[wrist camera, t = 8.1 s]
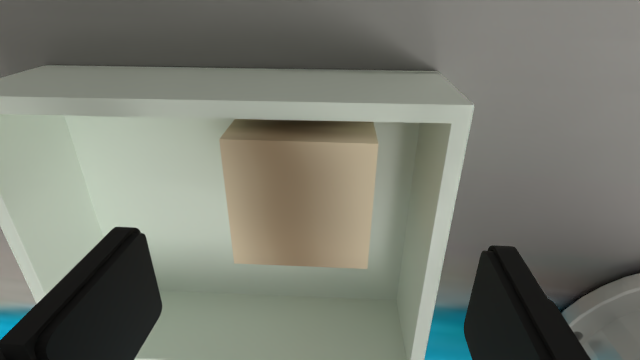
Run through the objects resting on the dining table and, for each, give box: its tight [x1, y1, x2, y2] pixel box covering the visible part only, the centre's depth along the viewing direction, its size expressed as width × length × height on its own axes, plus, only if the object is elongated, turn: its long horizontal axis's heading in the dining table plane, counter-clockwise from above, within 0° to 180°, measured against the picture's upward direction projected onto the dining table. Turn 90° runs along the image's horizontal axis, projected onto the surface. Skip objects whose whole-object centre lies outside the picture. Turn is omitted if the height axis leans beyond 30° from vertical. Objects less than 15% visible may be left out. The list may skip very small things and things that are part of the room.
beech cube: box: [219, 119, 378, 269], centre depth 15 cm, size 5×5×5 cm
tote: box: [0, 65, 475, 360], centre depth 17 cm, size 17×13×5 cm
